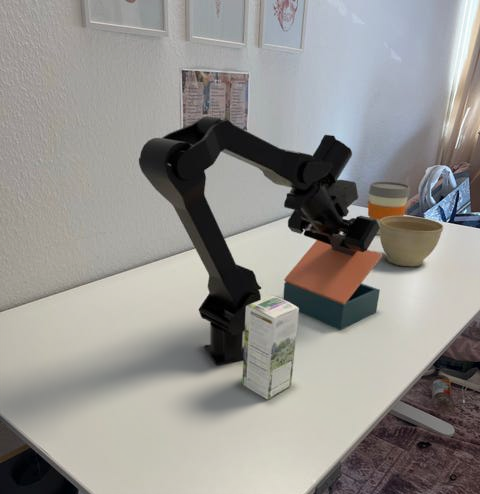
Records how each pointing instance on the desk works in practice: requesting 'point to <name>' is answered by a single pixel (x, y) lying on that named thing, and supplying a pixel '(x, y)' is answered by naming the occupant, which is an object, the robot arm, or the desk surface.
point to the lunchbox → (334, 305)
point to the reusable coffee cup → (387, 200)
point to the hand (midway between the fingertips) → (346, 247)
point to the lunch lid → (332, 269)
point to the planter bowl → (409, 238)
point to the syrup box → (269, 345)
